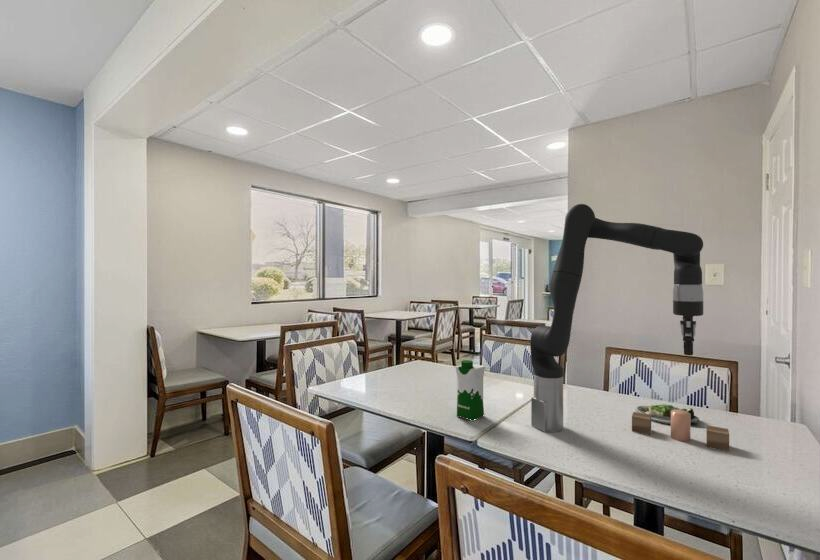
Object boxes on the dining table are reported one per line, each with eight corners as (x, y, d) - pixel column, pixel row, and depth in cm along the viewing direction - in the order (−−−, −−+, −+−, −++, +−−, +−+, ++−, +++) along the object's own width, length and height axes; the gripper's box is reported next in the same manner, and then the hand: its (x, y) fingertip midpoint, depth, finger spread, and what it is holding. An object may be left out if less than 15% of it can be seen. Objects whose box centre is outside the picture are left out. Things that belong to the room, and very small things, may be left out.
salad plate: (651, 428, 128) (651, 414, 128) (622, 409, 146) (622, 397, 146) (710, 428, 128) (710, 414, 128) (673, 409, 146) (674, 397, 146)
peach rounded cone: (683, 443, 116) (684, 416, 116) (667, 436, 121) (667, 411, 121) (694, 440, 118) (694, 413, 118) (677, 433, 123) (677, 408, 123)
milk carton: (453, 416, 138) (452, 360, 138) (467, 410, 145) (467, 356, 145) (473, 423, 132) (473, 364, 132) (488, 415, 139) (488, 360, 139)
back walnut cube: (650, 435, 122) (650, 419, 122) (631, 431, 125) (631, 416, 125) (651, 430, 126) (651, 414, 126) (633, 426, 129) (633, 411, 129)
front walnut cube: (729, 452, 110) (729, 434, 110) (707, 447, 113) (707, 430, 113) (727, 445, 114) (727, 428, 114) (706, 441, 117) (706, 425, 117)
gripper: (704, 301, 110) (704, 358, 110) (702, 298, 122) (702, 349, 122) (672, 300, 114) (672, 355, 115) (673, 297, 126) (673, 347, 126)
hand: (688, 352), depth 118 cm, fingers open, 8 cm apart
